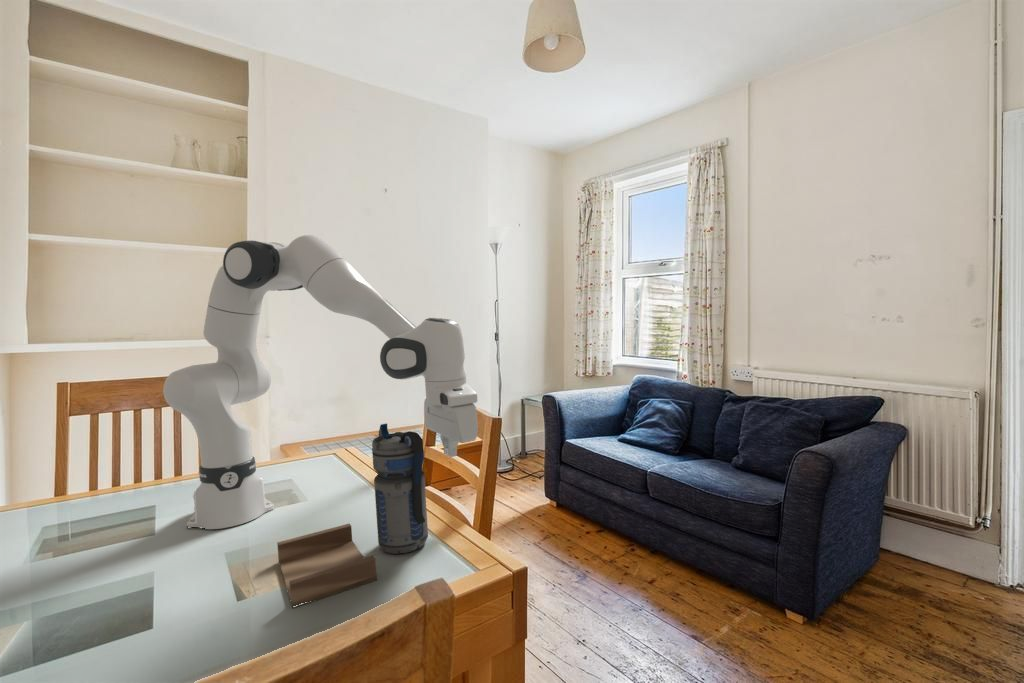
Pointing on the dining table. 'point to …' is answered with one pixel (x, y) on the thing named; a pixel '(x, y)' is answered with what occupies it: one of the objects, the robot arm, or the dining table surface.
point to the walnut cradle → (323, 564)
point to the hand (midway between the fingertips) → (450, 455)
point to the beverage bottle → (399, 491)
